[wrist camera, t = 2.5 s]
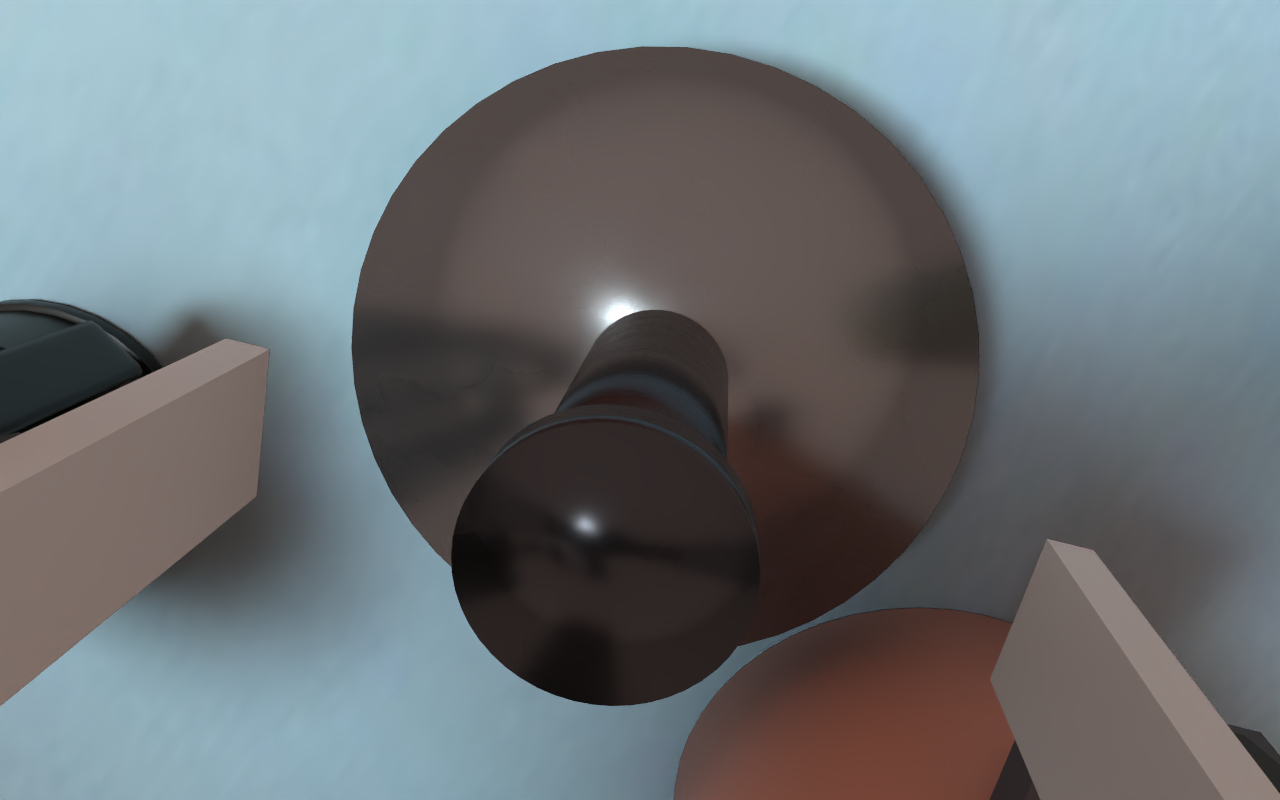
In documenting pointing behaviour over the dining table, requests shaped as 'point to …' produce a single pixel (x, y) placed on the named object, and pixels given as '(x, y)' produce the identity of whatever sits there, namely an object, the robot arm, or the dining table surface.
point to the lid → (661, 363)
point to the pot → (867, 716)
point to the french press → (60, 362)
